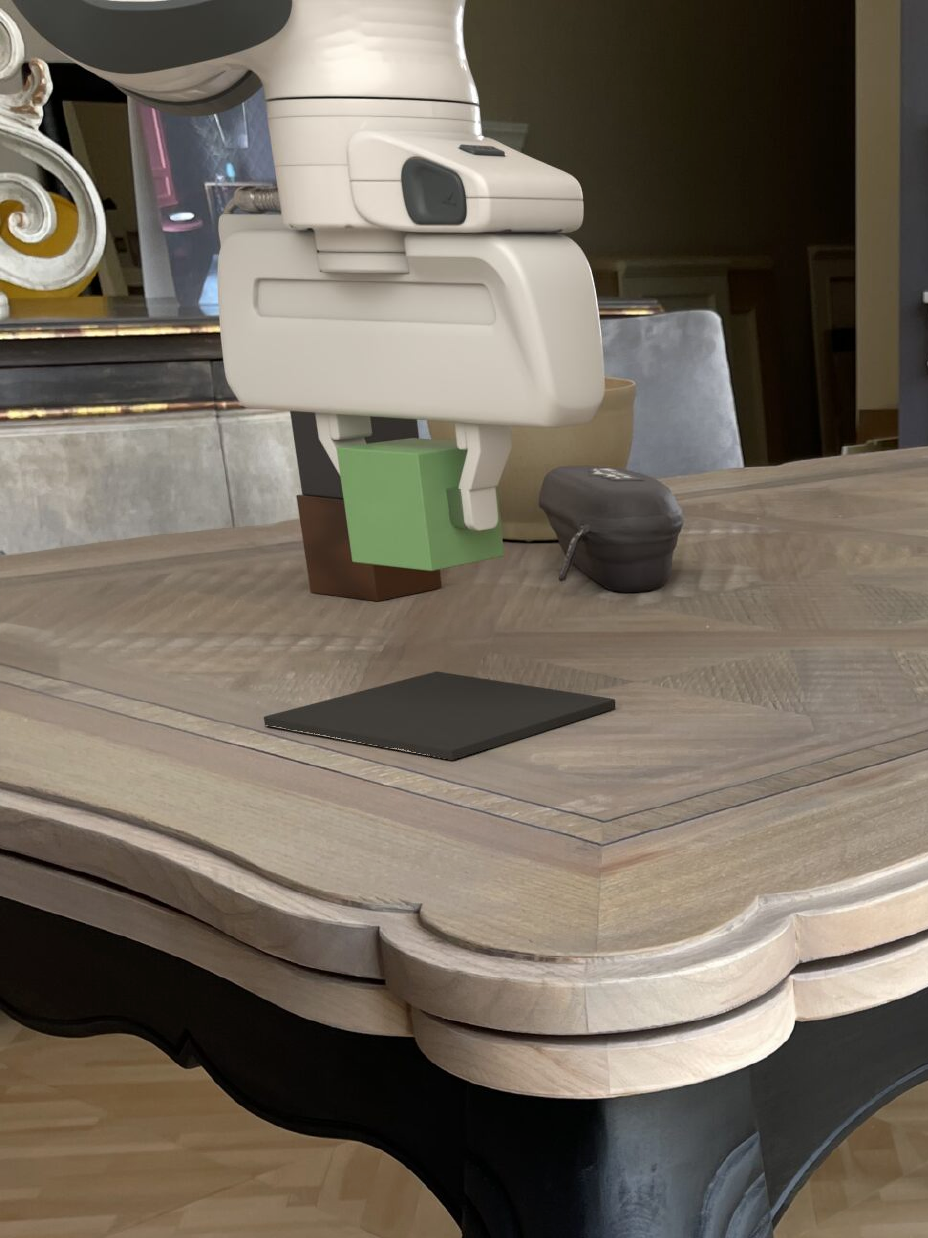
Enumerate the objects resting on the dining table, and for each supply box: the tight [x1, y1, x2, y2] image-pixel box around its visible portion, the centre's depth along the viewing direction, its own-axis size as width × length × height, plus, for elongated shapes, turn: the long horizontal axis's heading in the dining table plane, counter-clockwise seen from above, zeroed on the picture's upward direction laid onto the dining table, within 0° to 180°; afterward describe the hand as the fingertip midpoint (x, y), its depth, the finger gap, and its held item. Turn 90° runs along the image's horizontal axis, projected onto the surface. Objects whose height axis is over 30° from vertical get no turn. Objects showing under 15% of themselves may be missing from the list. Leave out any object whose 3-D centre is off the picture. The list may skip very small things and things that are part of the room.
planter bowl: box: [426, 376, 637, 543], centre depth 139 cm, size 16×16×11 cm
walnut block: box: [295, 493, 443, 602], centre depth 118 cm, size 6×6×6 cm
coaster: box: [263, 670, 617, 761], centre depth 89 cm, size 12×12×1 cm
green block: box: [337, 437, 505, 571], centre depth 84 cm, size 5×5×5 cm
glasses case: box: [538, 466, 684, 593], centre depth 124 cm, size 18×10×8 cm, turn 24°
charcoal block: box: [289, 411, 420, 499], centre depth 115 cm, size 6×6×6 cm
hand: (424, 523), depth 84 cm, fingers closed on green block, 5 cm apart
